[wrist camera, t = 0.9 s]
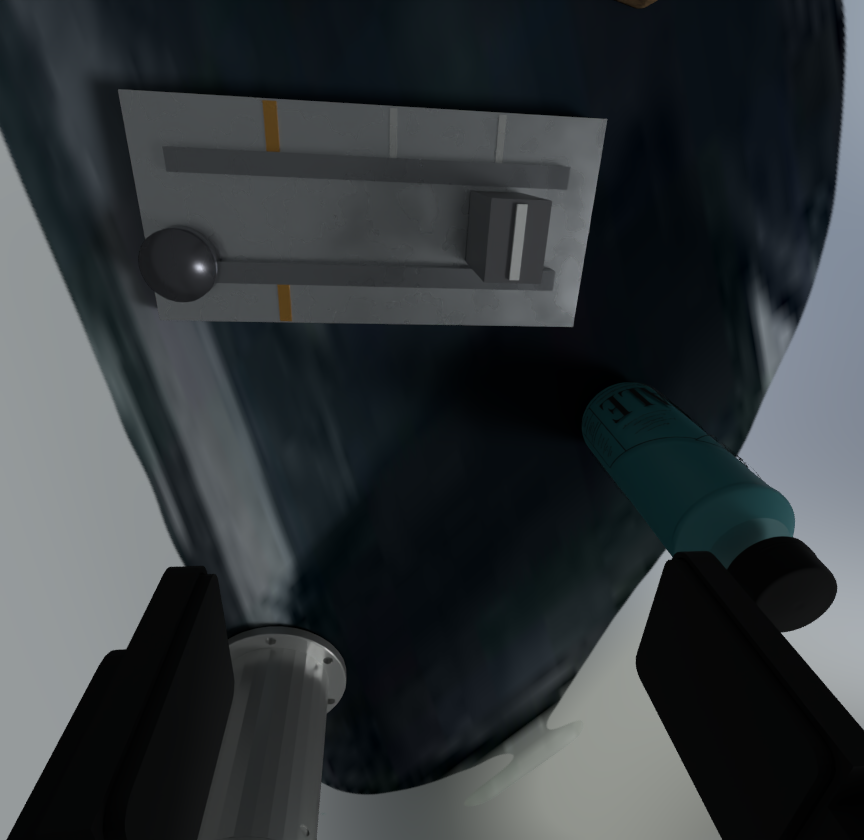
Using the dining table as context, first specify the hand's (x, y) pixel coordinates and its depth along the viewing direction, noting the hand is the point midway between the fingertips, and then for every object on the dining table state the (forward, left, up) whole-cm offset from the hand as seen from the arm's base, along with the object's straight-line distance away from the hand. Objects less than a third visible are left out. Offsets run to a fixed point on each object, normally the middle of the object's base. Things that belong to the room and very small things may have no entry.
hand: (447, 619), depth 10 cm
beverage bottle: (-9, -17, -28) cm, 34 cm away
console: (+4, +1, -28) cm, 28 cm away
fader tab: (+4, -6, -26) cm, 27 cm away
